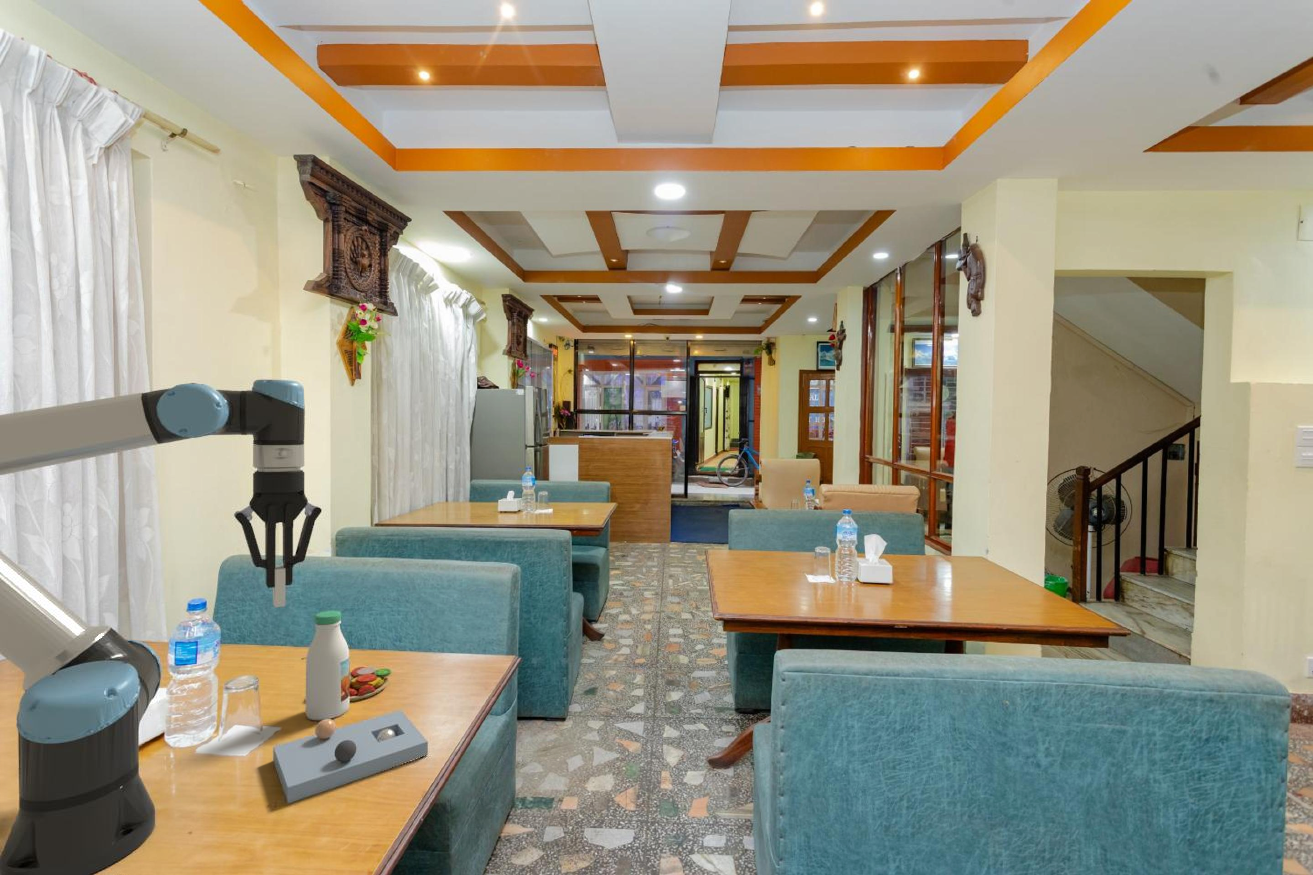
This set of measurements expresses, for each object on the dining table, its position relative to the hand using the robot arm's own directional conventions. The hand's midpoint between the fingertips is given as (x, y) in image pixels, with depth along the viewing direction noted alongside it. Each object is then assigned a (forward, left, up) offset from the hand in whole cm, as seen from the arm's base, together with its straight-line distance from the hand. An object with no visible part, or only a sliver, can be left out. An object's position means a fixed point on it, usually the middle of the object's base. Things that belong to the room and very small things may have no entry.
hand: (279, 604), depth 103 cm
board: (+10, -9, -26) cm, 29 cm away
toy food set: (+17, +20, -27) cm, 38 cm away
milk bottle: (+10, +12, -27) cm, 31 cm away
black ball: (+8, -14, -22) cm, 27 cm away
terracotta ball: (+7, -4, -22) cm, 24 cm away
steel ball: (+15, -9, -25) cm, 30 cm away
